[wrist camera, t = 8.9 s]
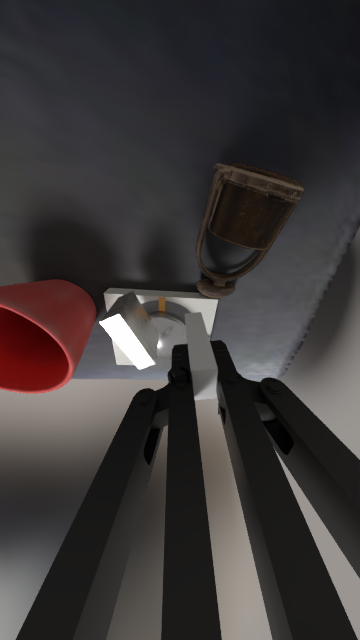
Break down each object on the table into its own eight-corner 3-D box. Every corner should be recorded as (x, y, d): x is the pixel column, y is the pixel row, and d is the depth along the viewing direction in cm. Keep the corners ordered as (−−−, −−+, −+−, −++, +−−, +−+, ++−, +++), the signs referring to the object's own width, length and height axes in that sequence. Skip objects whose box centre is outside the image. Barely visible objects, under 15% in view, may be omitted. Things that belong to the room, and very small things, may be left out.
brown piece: (355, 204, 13) (295, 67, 8) (248, 328, 17) (168, 291, 12) (283, 207, 18) (223, 130, 14) (217, 300, 23) (155, 266, 18)
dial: (199, 348, 24) (208, 391, 18) (149, 365, 25) (142, 410, 19) (162, 272, 18) (157, 297, 12) (99, 301, 19) (66, 336, 13)
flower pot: (82, 255, 19) (8, 280, 10) (120, 329, 24) (93, 384, 16) (3, 276, 20) (-122, 315, 11) (57, 343, 25) (1, 402, 17)
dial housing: (120, 355, 27) (115, 366, 25) (109, 287, 21) (102, 294, 19) (202, 358, 28) (204, 368, 26) (214, 293, 22) (219, 301, 20)
